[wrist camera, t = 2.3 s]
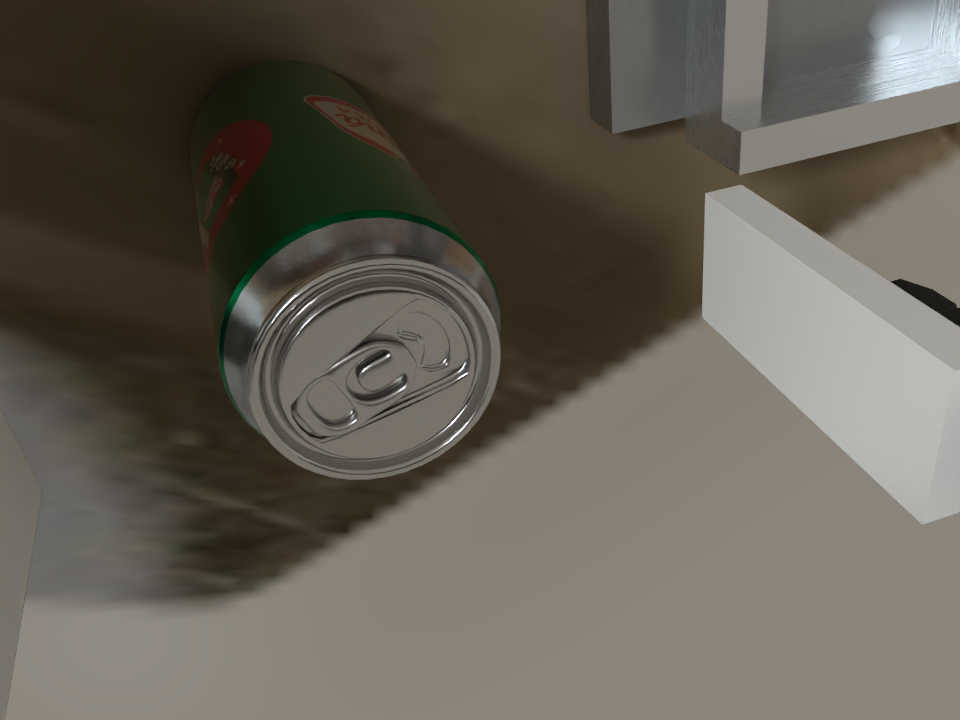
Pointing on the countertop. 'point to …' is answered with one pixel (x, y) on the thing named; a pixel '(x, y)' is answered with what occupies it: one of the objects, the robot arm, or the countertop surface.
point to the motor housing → (775, 72)
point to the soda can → (336, 279)
